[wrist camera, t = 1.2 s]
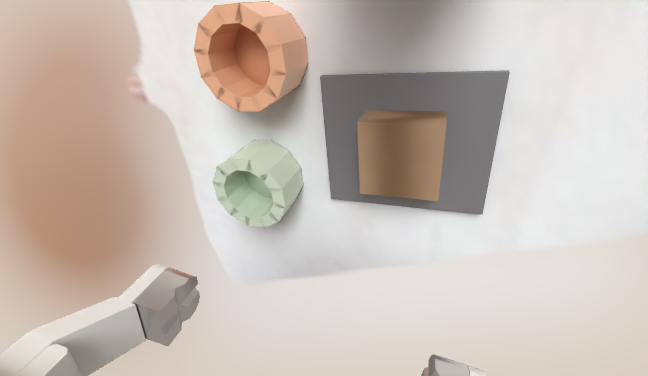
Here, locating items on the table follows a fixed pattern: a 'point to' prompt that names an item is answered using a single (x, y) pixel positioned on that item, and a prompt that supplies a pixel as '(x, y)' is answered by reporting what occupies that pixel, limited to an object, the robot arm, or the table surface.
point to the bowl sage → (258, 183)
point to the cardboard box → (401, 153)
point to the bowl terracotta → (250, 54)
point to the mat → (418, 95)
